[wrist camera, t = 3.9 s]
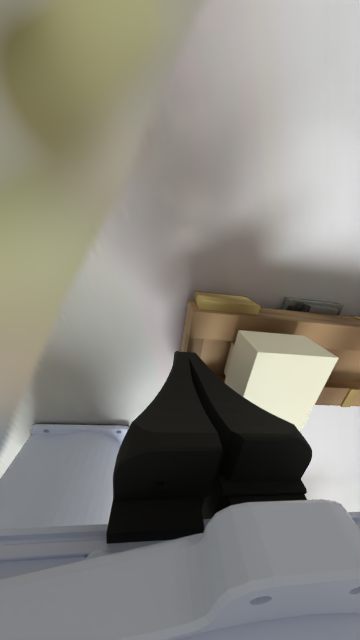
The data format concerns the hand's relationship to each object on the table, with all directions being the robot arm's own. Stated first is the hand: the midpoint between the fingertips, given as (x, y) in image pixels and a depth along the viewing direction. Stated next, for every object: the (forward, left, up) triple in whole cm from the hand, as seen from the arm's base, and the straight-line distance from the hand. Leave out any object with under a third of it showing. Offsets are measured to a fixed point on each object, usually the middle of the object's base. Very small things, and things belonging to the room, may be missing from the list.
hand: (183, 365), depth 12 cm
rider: (+5, 0, -1) cm, 5 cm away
